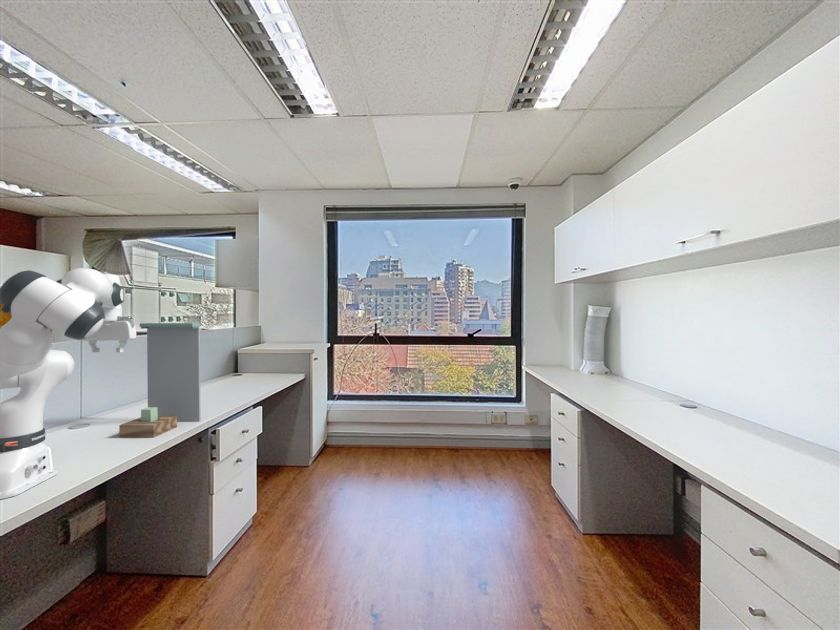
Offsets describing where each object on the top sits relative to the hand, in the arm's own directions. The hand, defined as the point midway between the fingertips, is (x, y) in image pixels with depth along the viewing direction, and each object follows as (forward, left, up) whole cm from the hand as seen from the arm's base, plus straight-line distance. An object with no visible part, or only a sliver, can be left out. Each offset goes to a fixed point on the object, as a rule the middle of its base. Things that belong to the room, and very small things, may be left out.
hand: (107, 352), depth 144 cm
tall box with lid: (+23, -15, -35) cm, 45 cm away
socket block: (+11, -10, -35) cm, 38 cm away
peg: (+11, -10, -35) cm, 38 cm away
